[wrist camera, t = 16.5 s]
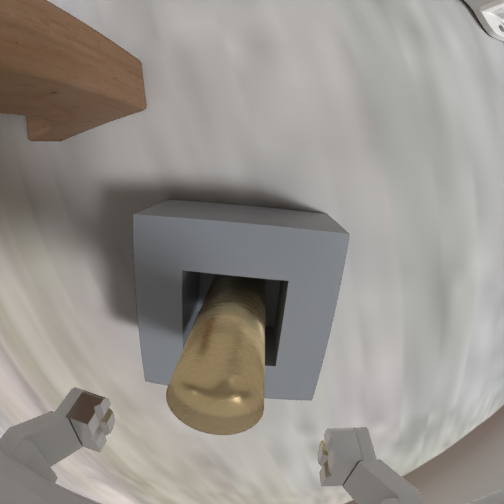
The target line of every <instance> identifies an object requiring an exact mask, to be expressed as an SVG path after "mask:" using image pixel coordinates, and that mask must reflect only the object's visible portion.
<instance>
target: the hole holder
mask: <svg viewBox="0 0 504 504" xmlns="http://www.w3.org/2000/svg"><path fill="white" fill-rule="evenodd" d="M349 235H350V234H349V233H348V232H347V231H346V230H345V229H343V228H342V227H341V226H340V225H339V224H338V223H337V222H336V221H335V220H333V219H332V218H331V217H330V216H329V215H328V214H324V213H316V212H307V211H298V210H288V209H279V208H269V207H258V206H247V205H236V204H224V203H212V202H198V201H184V200H165V201H163V202H161V203H158V204H156V205H154V206H151V207H149V208H146V209H144V210H142V211H140V212H137V213H135V214H133V249H134V275H135V292H136V305H137V317H138V328H139V337H140V346H141V354H142V362H143V369H144V376H145V381H147V382H152V383H157V384H162V385H167V386H168V385H169V383H170V380H171V378H172V376H173V373H174V371H175V368H176V366H177V363H178V361H179V359H180V356H181V354H182V351H183V349H184V347H185V344H186V342H187V340H188V337H189V335H190V332H191V330H192V328H193V325H194V323H195V321H196V318H197V316H198V314H199V311H200V309H201V307H202V304H203V302H204V300H205V297H206V295H207V293H208V290H209V288H210V286H211V283H212V281H213V279H214V277H215V275H216V274H221V275H231V276H241V277H251V278H261V279H264V282H265V287H266V304H265V376H264V398H270V399H287V400H312V399H313V395H314V392H315V388H316V385H317V381H318V378H319V374H320V370H321V367H322V363H323V359H324V355H325V351H326V347H327V343H328V339H329V335H330V331H331V326H332V322H333V318H334V313H335V309H336V304H337V299H338V294H339V290H340V285H341V280H342V274H343V269H344V264H345V258H346V253H347V247H348V241H349Z"/></svg>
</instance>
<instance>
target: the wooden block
mask: <svg viewBox="0 0 504 504" xmlns="http://www.w3.org/2000/svg"><path fill="white" fill-rule="evenodd" d="M144 109H146V98H145V90H144V82H143V74H142V65H141V62H140V60H138V59H137V58H135V57H134V56H133V55H131V54H130V53H128V52H127V51H126V50H124V49H123V48H121V47H120V46H118V45H117V44H115V43H114V42H112V41H111V40H110V39H108V38H107V37H105V36H104V35H102V34H100V33H99V32H97V31H96V30H94V29H93V28H91V27H90V26H88V25H86V24H85V23H83V22H82V21H80V20H79V19H77V18H75V17H74V16H72V15H70V14H69V13H67V12H65V11H64V10H62V9H60V8H59V7H57V6H55V5H54V4H52V3H50V2H48V1H46V0H0V113H6V114H19V115H27V129H28V138H29V140H30V141H62V140H65V139H67V138H69V137H72V136H74V135H76V134H79V133H81V132H84V131H86V130H89V129H91V128H94V127H97V126H99V125H102V124H105V123H107V122H110V121H113V120H116V119H119V118H122V117H124V116H127V115H130V114H134V113H137V112H140V111H143V110H144Z"/></svg>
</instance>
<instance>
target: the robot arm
mask: <svg viewBox="0 0 504 504" xmlns="http://www.w3.org/2000/svg"><path fill="white" fill-rule="evenodd" d="M464 1H465V2H466V3H467V4H468V5H469V6H470V7H471V9H472V10H473V11H474V13H475V15H476V16H477V18H478V20H479V21H480V23H481V24H482V26H483V28H484V29H485V30H486V32H487V33H488V34H489V35H490V36H492V37H493V38H496V39H498V40H501V41H503V42H504V0H464ZM110 405H111V404H110V401H109V399H108V398H105V397H102V396H99V395H96V394H93V393H90V392H88V391H85V390H82V389H79V388H76V387H75V388H73V389H71V391H70V392H69V393H68V395H67V396H66V397H65V399H64V400H63V401H62V403H61V404H60V406H59V407H58V408H57V410H56V411H55V412H53V411H51V412H48V413H46V414H43V415H41V416H38V417H36V418H33V419H31V420H28V421H26V422H23V423H21V424H18V425H15V426H13V427H10V428H9V429H8V430H7V431H6V433H5V434H4V435H3V436H2V438H1V439H0V504H101V503H98V502H96V501H93V500H91V499H88V498H86V497H84V496H81V495H79V494H77V493H75V492H72V491H70V490H68V489H66V488H64V487H62V486H60V485H58V484H56V483H55V482H56V480H57V475H56V474H55V472H54V471H53V470H52V468H51V466H53V465H54V464H56V463H58V462H59V461H61V460H62V459H64V458H66V457H67V456H69V455H71V454H72V453H74V452H75V451H77V450H79V449H80V448H82V446H83V447H86V448H89V449H92V450H94V451H97V452H101V450H102V448H103V446H104V445H105V443H106V438H105V436H106V435H107V434H109V433H111V431H112V429H113V426H114V414H113V412H112V410H111V409H110V408H109V407H110ZM324 438H325V439H324V440H323V441H321V443H320V446H319V451H318V462H319V464H320V465H321V466H322V469H321V471H320V481H321V486H343V487H344V489H345V490H346V491H347V492H348V493H349V495H350V496H351V497H352V498H353V499H354V500H355V501H356V503H357V504H423V500H422V497H421V494H420V491H419V490H417V489H416V488H415V487H413V486H412V485H411V484H410V483H408V482H407V481H406V480H405V479H403V478H402V477H401V476H400V475H398V474H397V473H396V472H395V471H394V470H392V469H391V468H390V467H389V466H388V465H386V464H385V463H384V462H383V461H382V460H380V459H379V460H377V459H376V456H375V452H374V449H373V445H372V442H371V438H370V435H369V431H368V429H367V428H366V427H362V428H333V429H327V430H326V431H325V433H324ZM467 504H504V491H503V490H497V491H495V492H492V493H490V494H488V495H486V496H484V497H481V498H479V499H477V500H474V501H472V502H469V503H467Z"/></svg>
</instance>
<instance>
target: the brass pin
mask: <svg viewBox="0 0 504 504" xmlns="http://www.w3.org/2000/svg"><path fill="white" fill-rule="evenodd" d="M265 304H266V287H265V282H264V279H261V278H251V277H241V276H231V275H221V274H216V275H215V277H214V279H213V281H212V283H211V286H210V288H209V290H208V293H207V295H206V297H205V300H204V302H203V304H202V307H201V309H200V311H199V314H198V316H197V318H196V321H195V323H194V325H193V328H192V330H191V332H190V335H189V337H188V340H187V342H186V344H185V347H184V349H183V351H182V354H181V356H180V359H179V361H178V363H177V366H176V368H175V371H174V373H173V376H172V378H171V380H170V383H169V385H168V388H167V392H166V399H167V403H168V406H169V408H170V409H171V411H172V412H173V414H174V415H175V416H176V417H177V418H178V419H179V420H180V421H182V422H183V423H184V424H186V425H188V426H189V427H191V428H193V429H196V430H198V431H201V432H205V433H209V434H215V435H231V434H237V433H240V432H243V431H246V430H248V429H250V428H251V427H253V426H254V425H255V424H256V423H258V421H259V420H260V419H261V417H262V415H263V411H264V376H265Z"/></svg>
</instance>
